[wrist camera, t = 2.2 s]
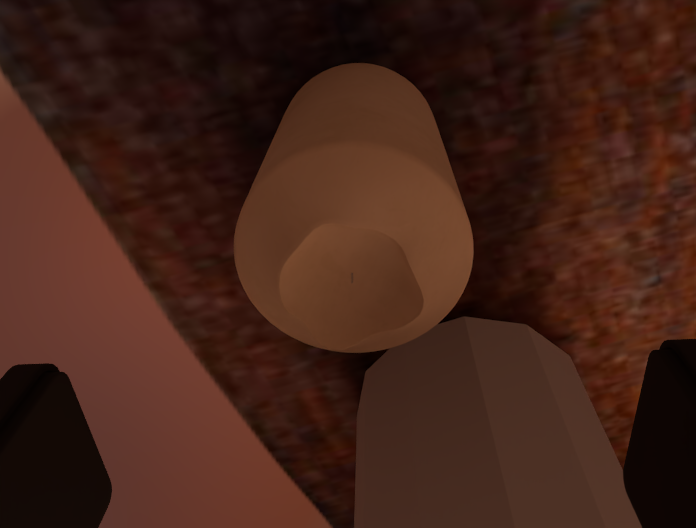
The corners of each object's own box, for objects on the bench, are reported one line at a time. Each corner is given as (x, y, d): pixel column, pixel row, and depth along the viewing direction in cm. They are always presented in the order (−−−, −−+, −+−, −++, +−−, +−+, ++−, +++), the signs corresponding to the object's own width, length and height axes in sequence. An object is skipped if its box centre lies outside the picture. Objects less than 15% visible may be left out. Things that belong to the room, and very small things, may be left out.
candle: (461, 91, 20) (533, 221, 11) (403, 228, 22) (424, 418, 14) (306, 36, 19) (253, 130, 10) (265, 185, 22) (196, 357, 13)
